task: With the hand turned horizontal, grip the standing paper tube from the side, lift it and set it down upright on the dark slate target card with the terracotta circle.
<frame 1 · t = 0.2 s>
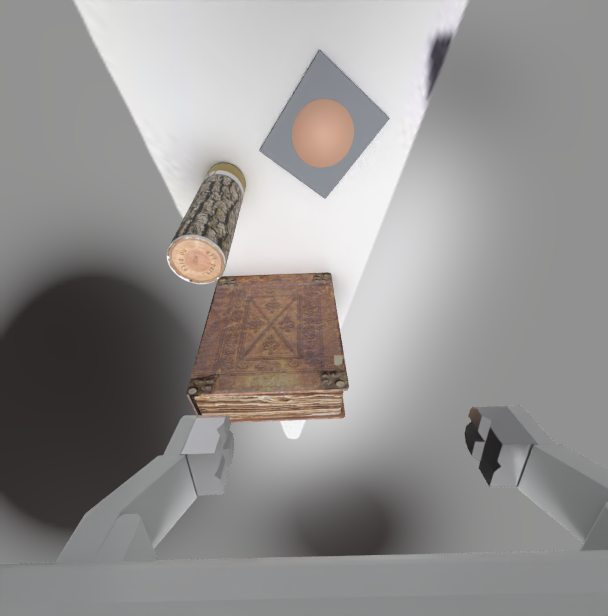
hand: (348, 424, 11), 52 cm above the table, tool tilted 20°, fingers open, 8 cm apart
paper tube: (227, 181, 56), on the table
book: (276, 289, 74), on the table
target card: (322, 133, 51), on the table
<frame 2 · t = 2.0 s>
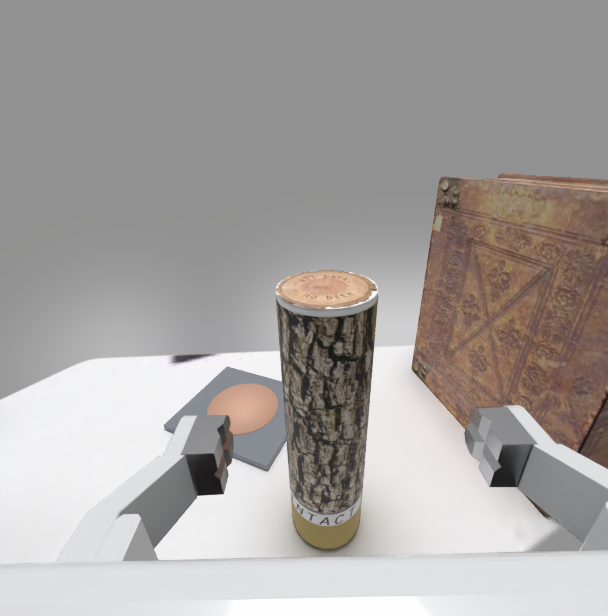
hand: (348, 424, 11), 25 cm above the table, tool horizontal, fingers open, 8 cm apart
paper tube: (325, 516, 32), on the table
book: (489, 418, 43), on the table
target card: (243, 411, 45), on the table
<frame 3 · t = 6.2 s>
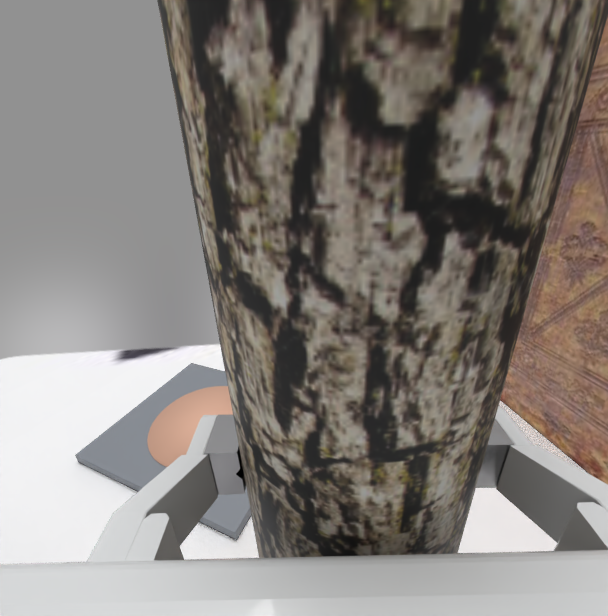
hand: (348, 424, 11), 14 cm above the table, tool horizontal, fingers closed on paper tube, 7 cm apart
book: (596, 434, 27), on the table
target card: (208, 428, 29), on the table
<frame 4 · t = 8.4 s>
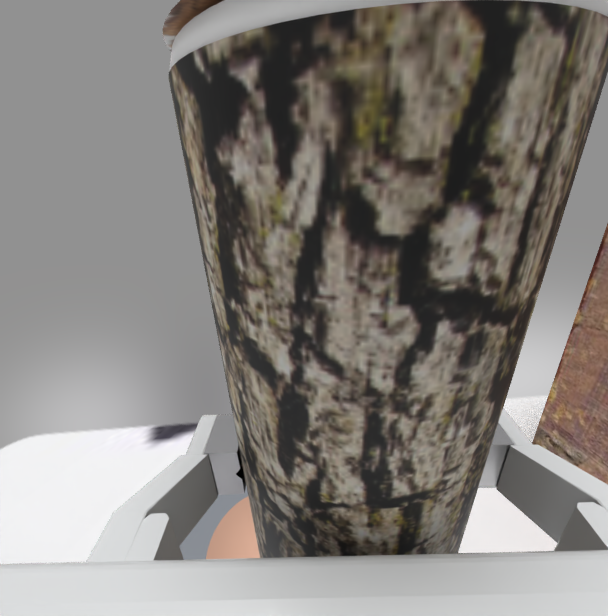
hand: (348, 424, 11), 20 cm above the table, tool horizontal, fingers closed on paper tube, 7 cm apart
target card: (271, 554, 25), on the table
when the fingers open (16 cm above the table, at t = 10.9 s): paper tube stays where it is, resting on target card.
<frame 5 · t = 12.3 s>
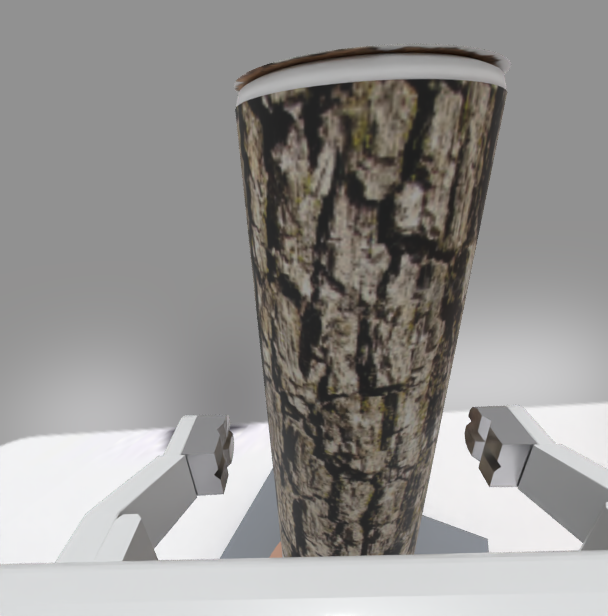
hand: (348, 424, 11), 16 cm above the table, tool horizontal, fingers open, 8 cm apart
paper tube: (343, 588, 19), point 1 cm above the table, touching target card
target card: (340, 609, 19), on the table
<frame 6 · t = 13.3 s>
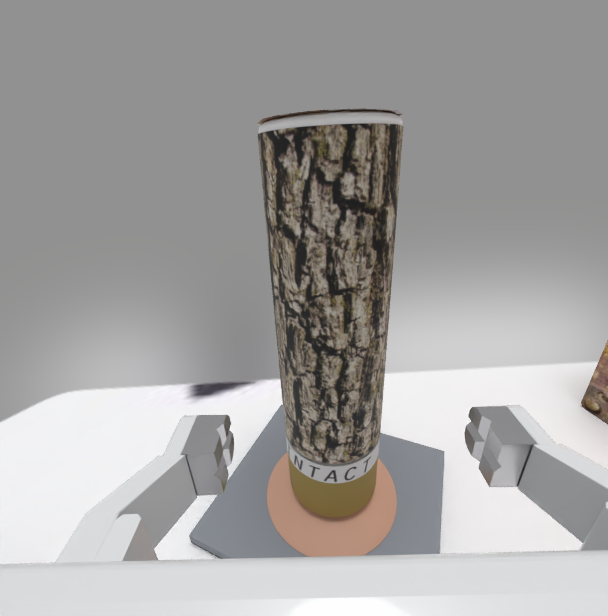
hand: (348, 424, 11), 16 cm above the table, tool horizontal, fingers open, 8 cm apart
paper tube: (332, 481, 25), point 1 cm above the table, touching target card
target card: (330, 495, 25), on the table
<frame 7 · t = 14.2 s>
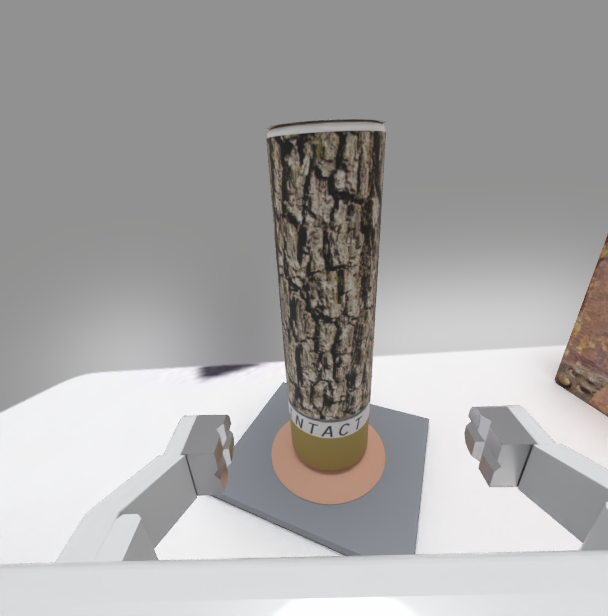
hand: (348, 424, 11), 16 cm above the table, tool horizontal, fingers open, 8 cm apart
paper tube: (329, 443, 29), point 1 cm above the table, touching target card
target card: (327, 455, 28), on the table
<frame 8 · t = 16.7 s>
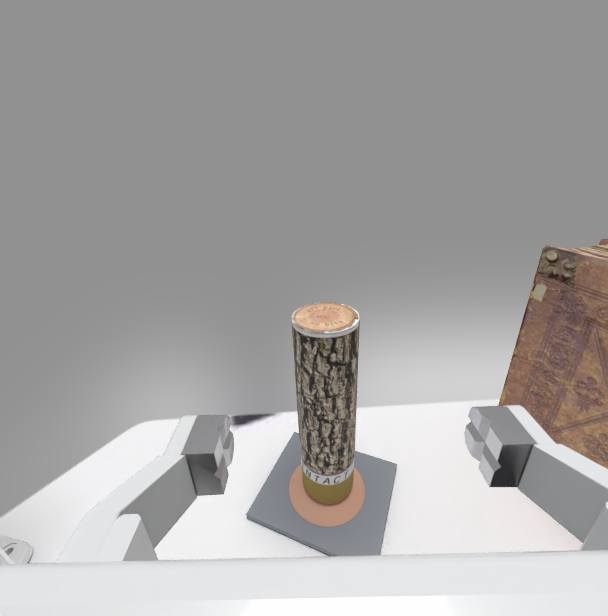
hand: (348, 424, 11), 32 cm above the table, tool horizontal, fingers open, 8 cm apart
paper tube: (327, 482, 43), point 1 cm above the table, touching target card
book: (596, 498, 40), on the table
target card: (326, 491, 42), on the table
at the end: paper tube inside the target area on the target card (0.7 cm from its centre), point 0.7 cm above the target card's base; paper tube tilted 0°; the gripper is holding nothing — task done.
